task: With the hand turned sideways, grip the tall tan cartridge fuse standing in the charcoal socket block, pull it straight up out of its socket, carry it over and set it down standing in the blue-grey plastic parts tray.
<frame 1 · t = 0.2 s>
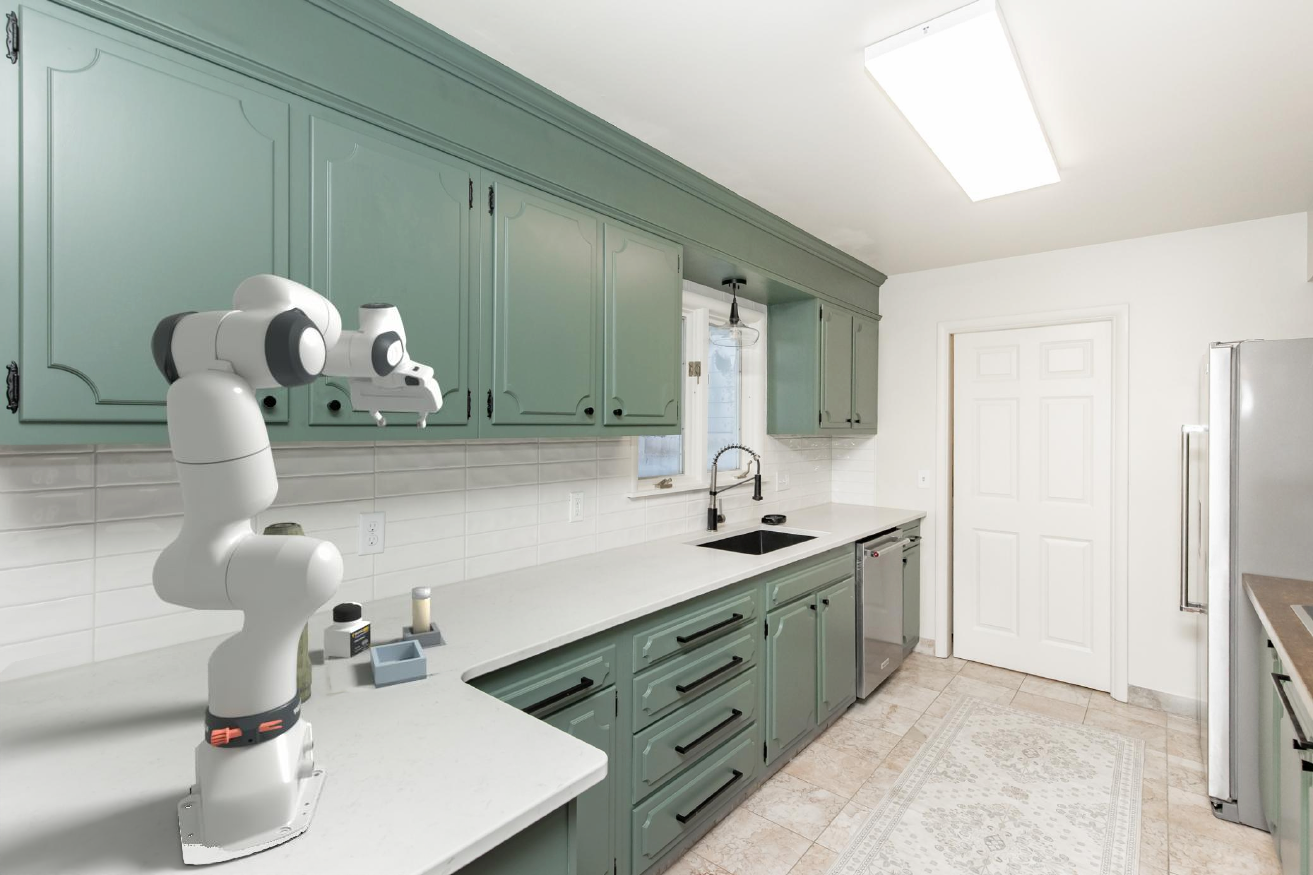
hand: (402, 426, 146), 54 cm above the countertop, tool tilted 25°, fingers open, 8 cm apart
fuse: (421, 641, 151), point 1 cm above the countertop, touching socket block
medicine bottle: (348, 655, 145), on the countertop
socket block: (421, 645, 151), on the countertop
parts tray: (397, 672, 135), on the countertop
thermos: (285, 700, 122), on the countertop
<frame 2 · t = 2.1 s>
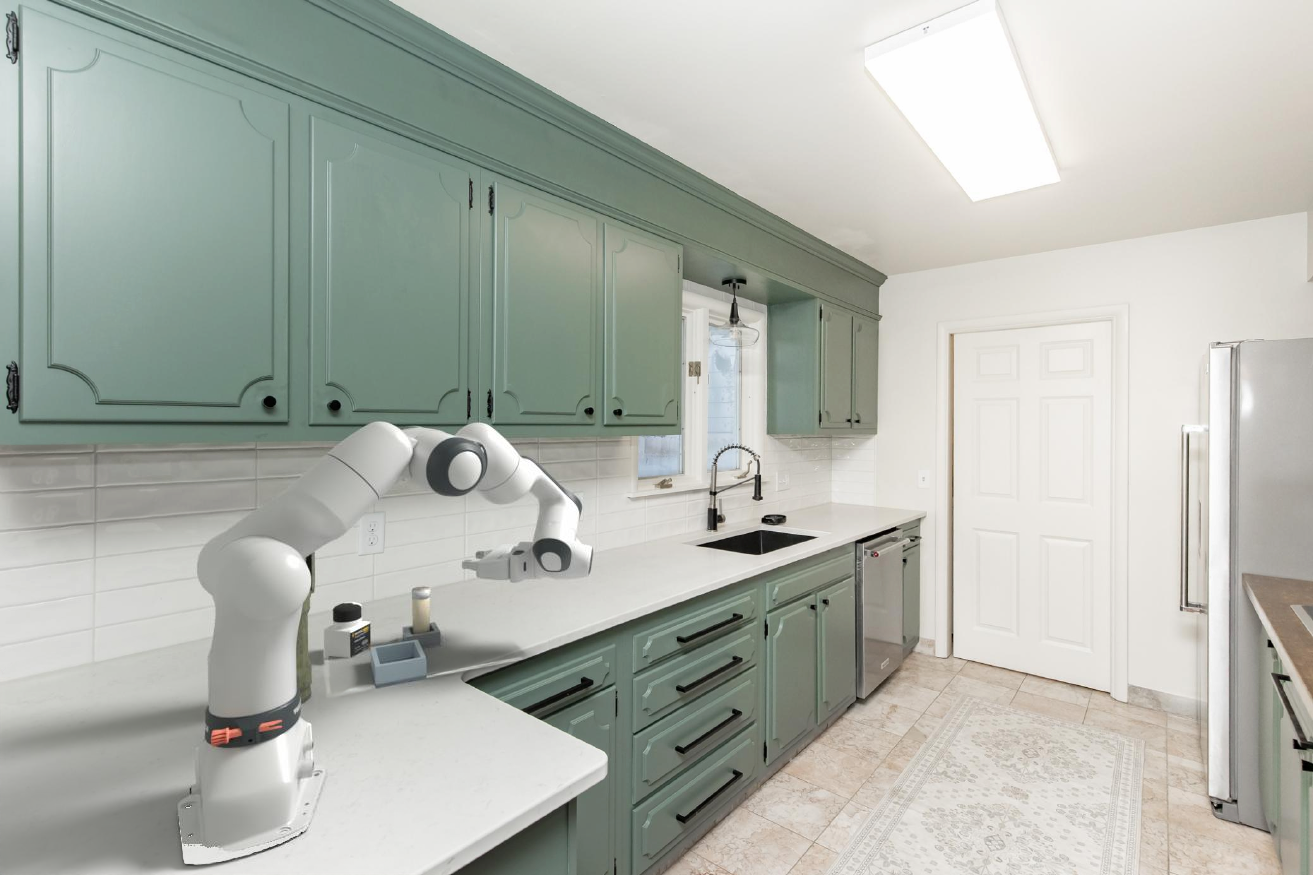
hand: (469, 559, 149), 22 cm above the countertop, tool horizontal, fingers open, 8 cm apart
nothing on the countertop moved.
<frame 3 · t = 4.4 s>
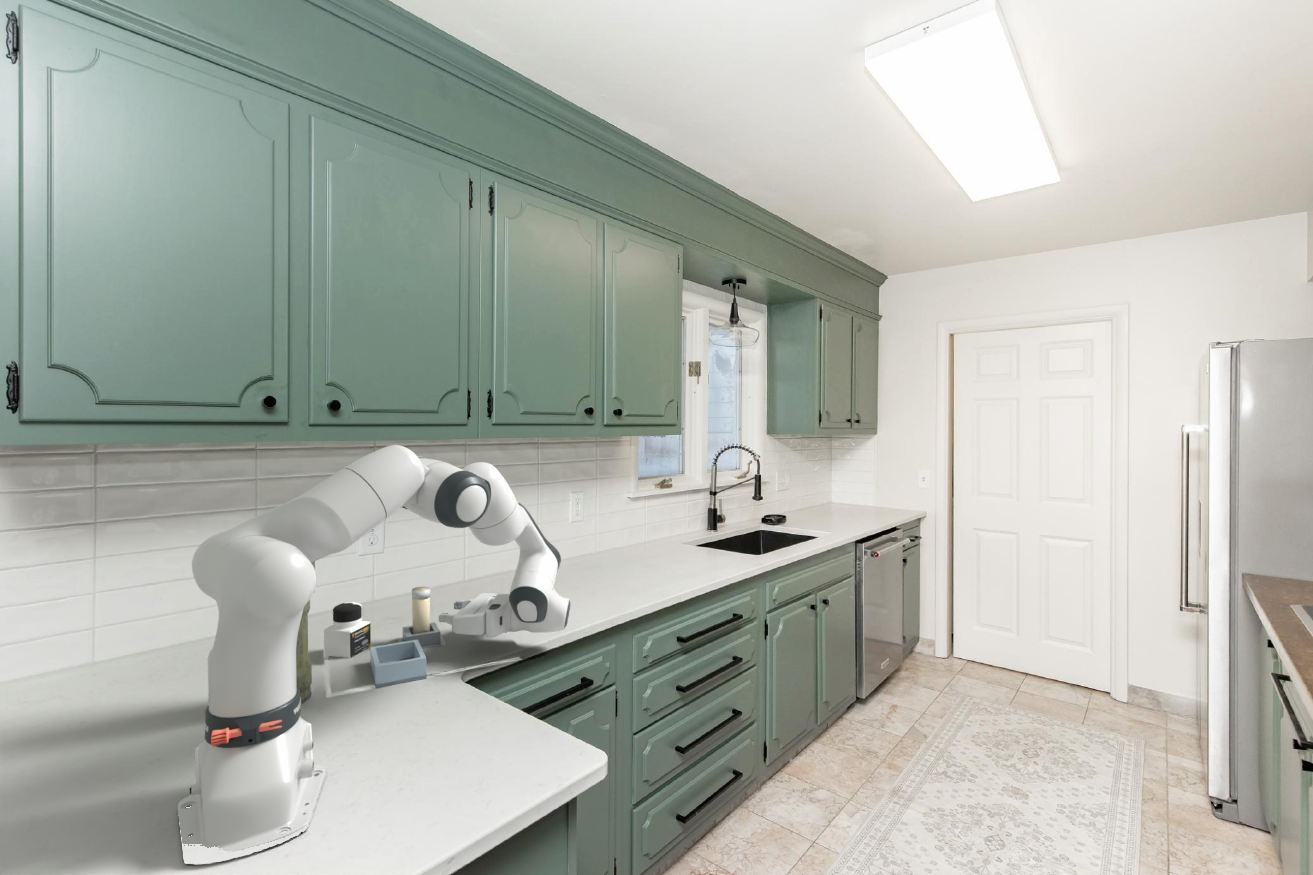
hand: (447, 611, 150), 9 cm above the countertop, tool horizontal, fingers open, 8 cm apart
nothing on the countertop moved.
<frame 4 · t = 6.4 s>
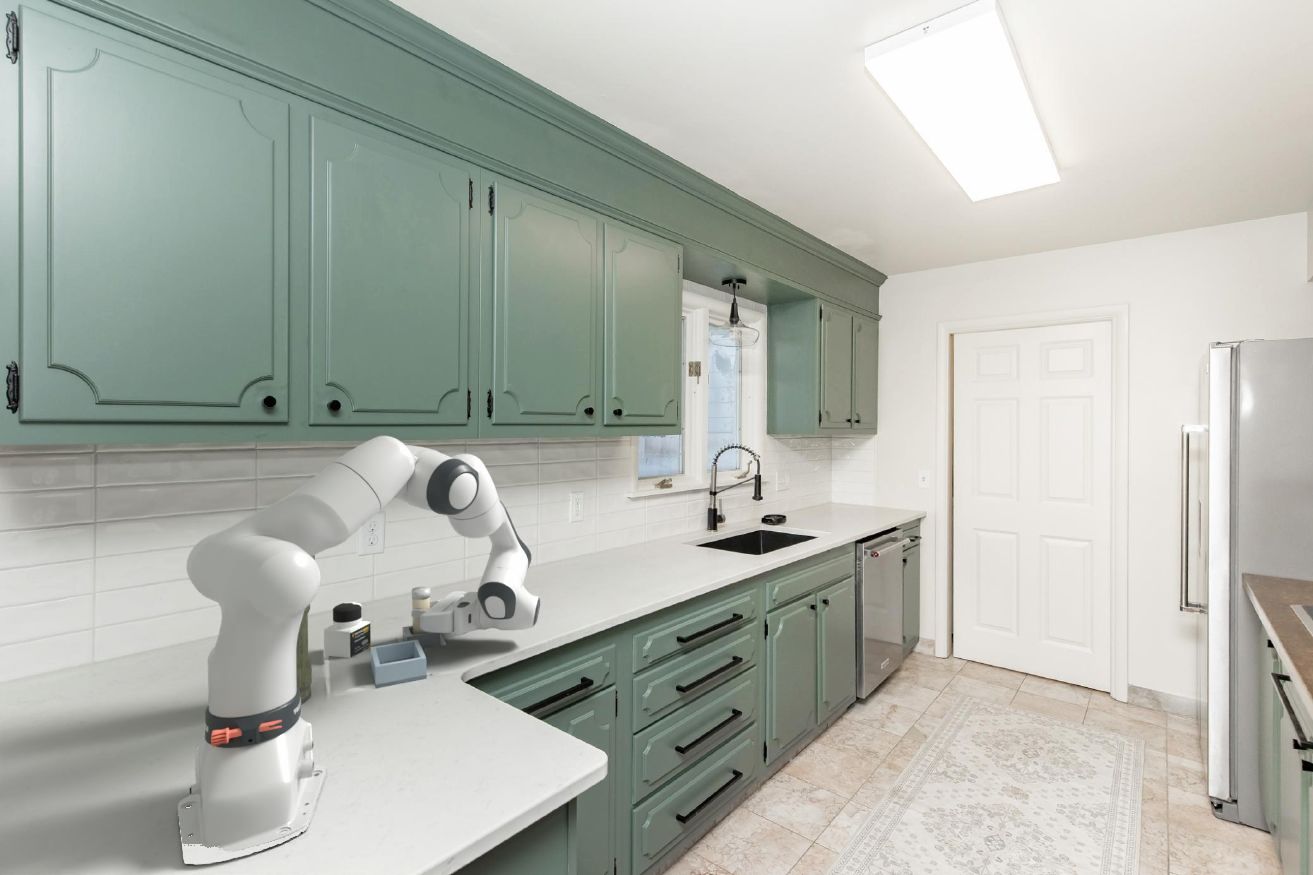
hand: (417, 609, 150), 9 cm above the countertop, tool horizontal, fingers closed on fuse, 4 cm apart
fuse: (421, 641, 151), point 1 cm above the countertop, touching gripper, socket block
everything else where it was.
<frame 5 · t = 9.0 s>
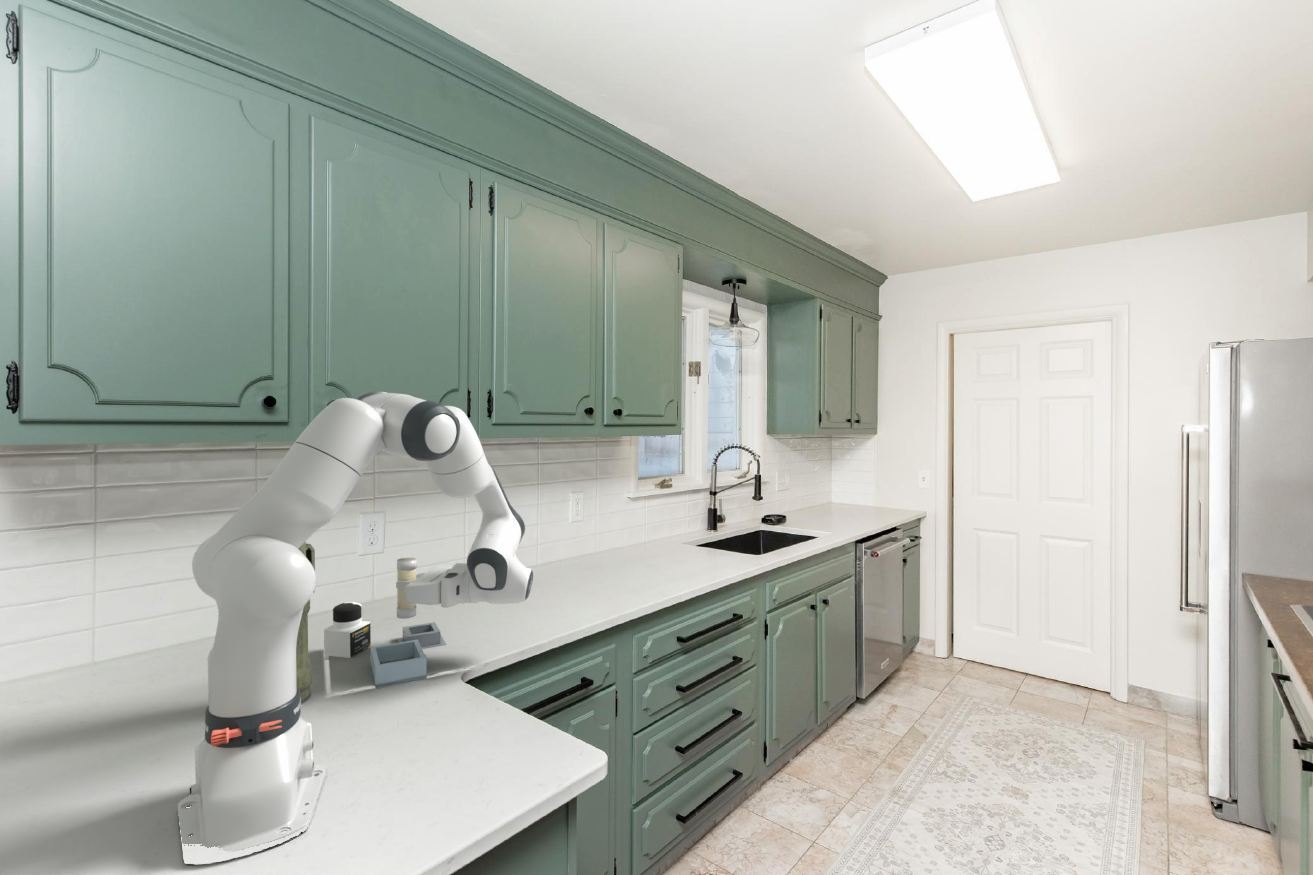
hand: (402, 581, 142), 18 cm above the countertop, tool horizontal, fingers closed on fuse, 4 cm apart
fuse: (406, 615, 142), point 10 cm above the countertop, touching gripper
everything else where it was.
when the fingers open (10 cm above the countertop, at t = 11.5 s): fuse drops 1 cm, resting on parts tray.
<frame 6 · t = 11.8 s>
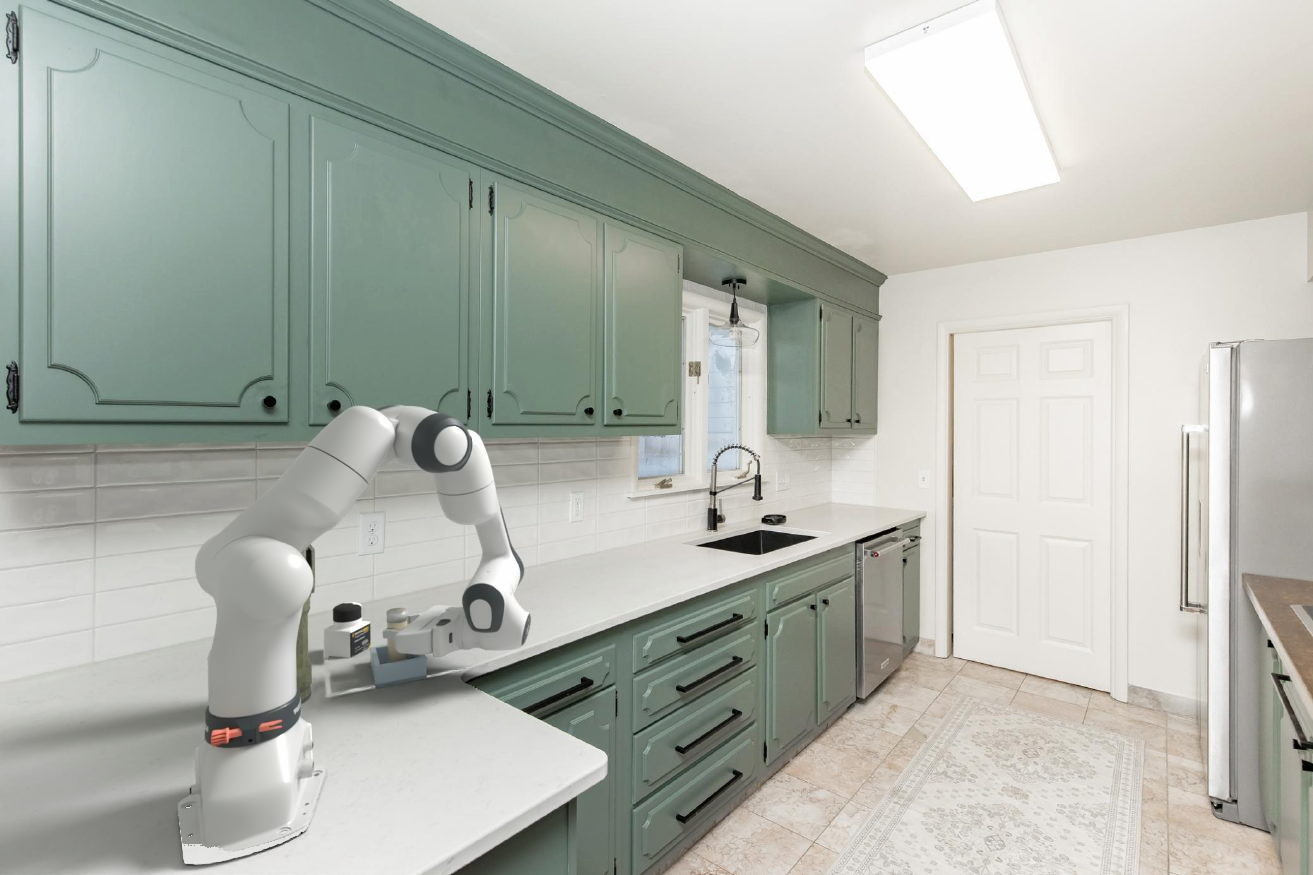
hand: (393, 626, 135), 10 cm above the countertop, tool horizontal, fingers open, 7 cm apart
fuse: (397, 668, 135), point 1 cm above the countertop, touching parts tray
everything else where it was.
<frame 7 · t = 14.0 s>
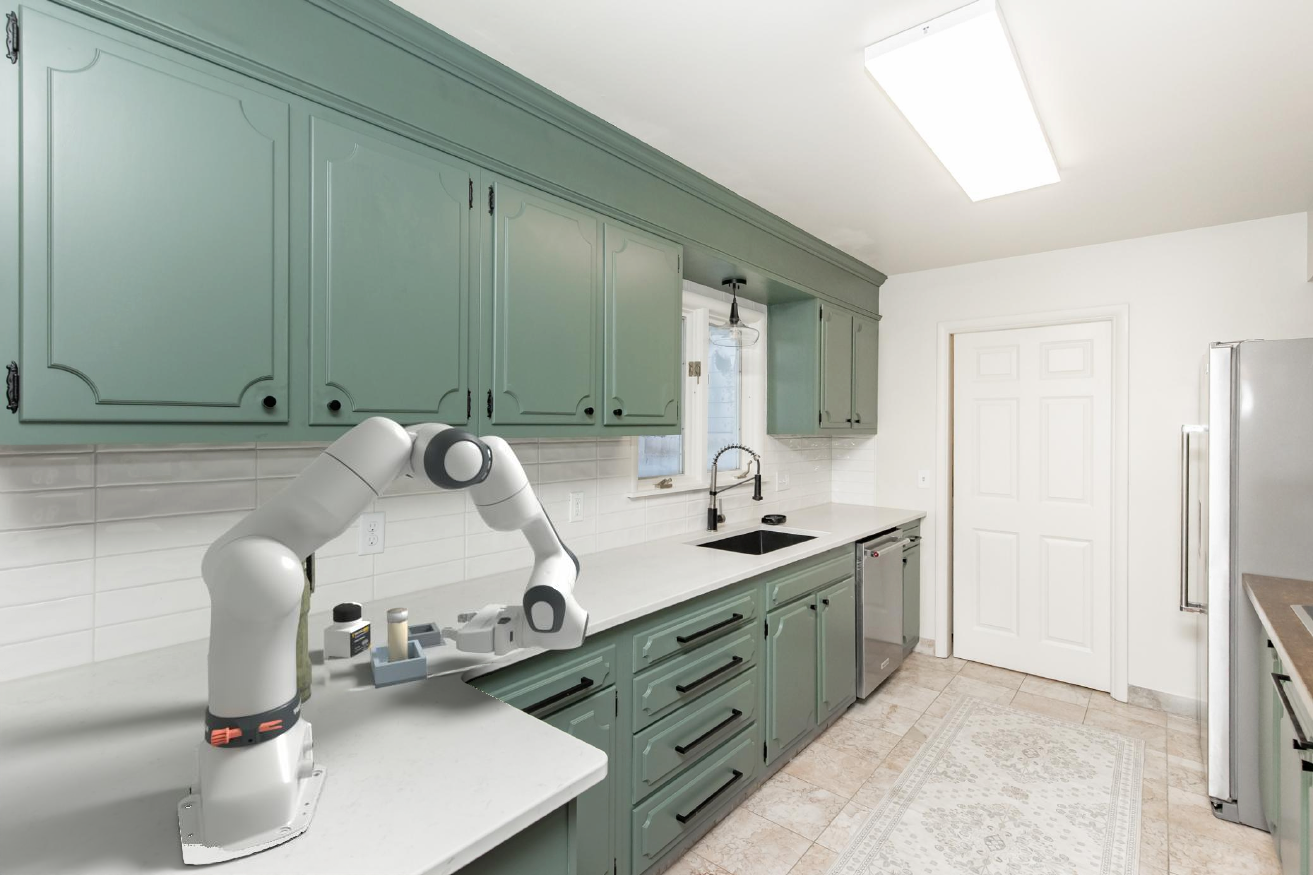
hand: (450, 624, 134), 11 cm above the countertop, tool horizontal, fingers open, 8 cm apart
nothing on the countertop moved.
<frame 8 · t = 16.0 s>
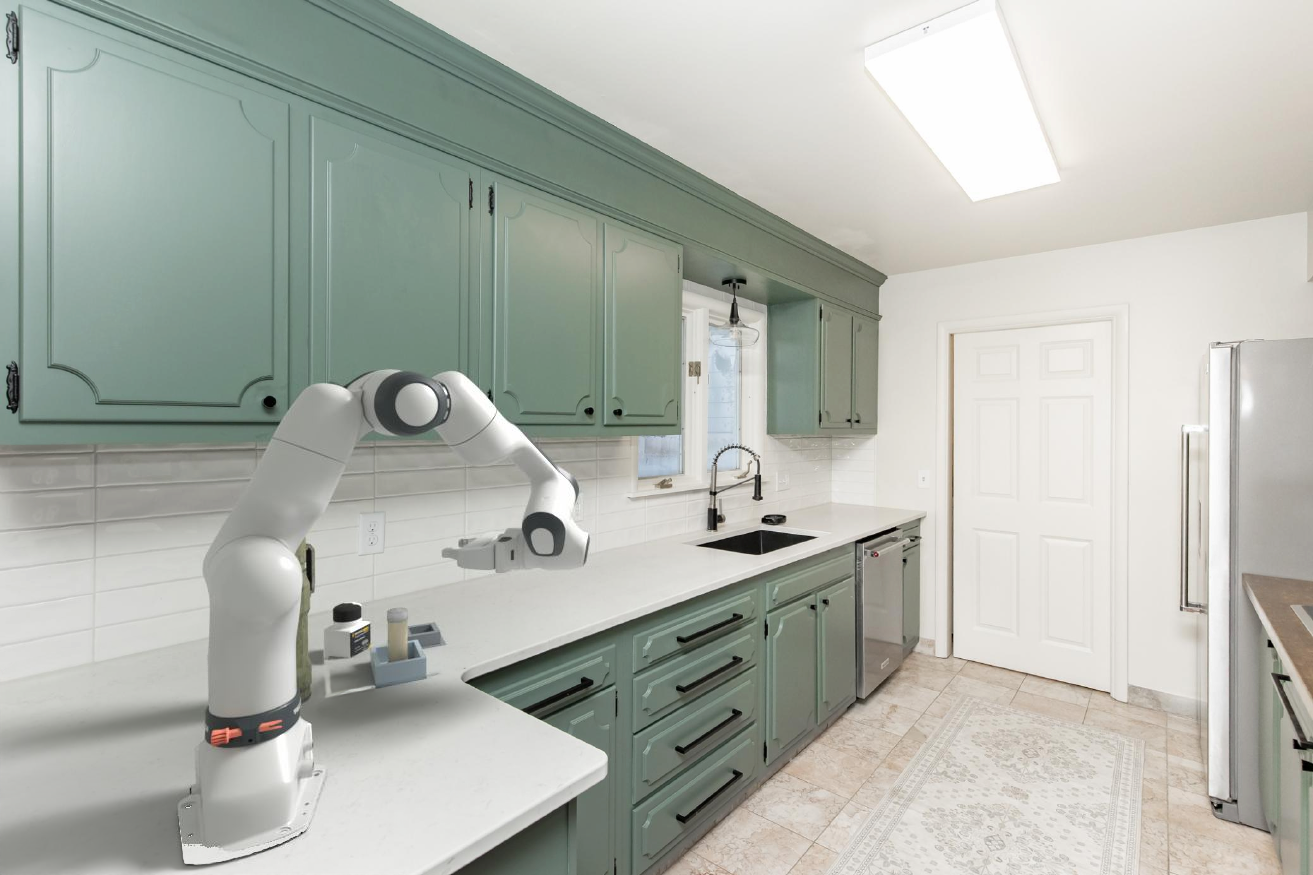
hand: (451, 547, 133), 28 cm above the countertop, tool horizontal, fingers open, 8 cm apart
nothing on the countertop moved.
at the end: fuse 0.0 cm off-centre on the parts tray, point 0.8 cm above the parts tray's base; the gripper is holding nothing; fuse moved 15.6 cm from its start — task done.
